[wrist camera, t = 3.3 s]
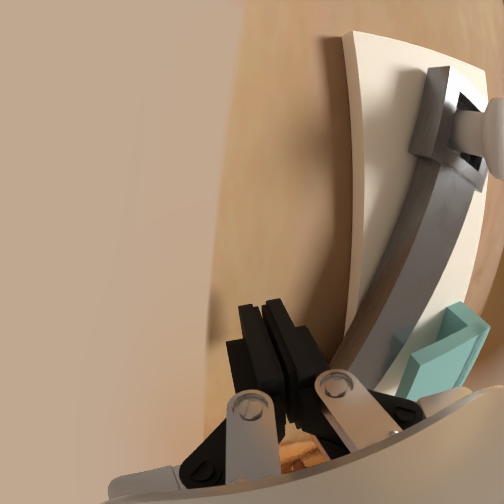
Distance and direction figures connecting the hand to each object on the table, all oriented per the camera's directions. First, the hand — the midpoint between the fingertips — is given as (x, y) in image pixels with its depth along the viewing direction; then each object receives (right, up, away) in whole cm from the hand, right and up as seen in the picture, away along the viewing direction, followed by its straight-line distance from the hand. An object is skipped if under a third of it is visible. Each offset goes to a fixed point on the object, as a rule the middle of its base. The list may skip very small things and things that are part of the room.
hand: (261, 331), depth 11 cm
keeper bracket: (+11, -3, +5) cm, 13 cm away
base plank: (+9, 0, +4) cm, 10 cm away
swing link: (+7, +2, +2) cm, 7 cm away
